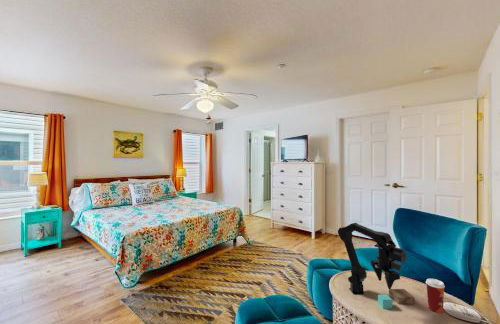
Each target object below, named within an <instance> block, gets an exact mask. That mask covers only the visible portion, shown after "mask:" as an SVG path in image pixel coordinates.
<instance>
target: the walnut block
mask: <svg viewBox="0 0 500 324" xmlns="http://www.w3.org/2000/svg"><path fill="white" fill-rule="evenodd" d="M388 296H389V297H390V298H391V299H392V300H394V301H395V303H396V304H398V305H411V304H412V305H415V296H414V295H412V294H411V293H409V291H407V289H405V288H391V289H388Z"/></svg>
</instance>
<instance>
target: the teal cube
mask: <svg viewBox="0 0 500 324" xmlns="http://www.w3.org/2000/svg"><path fill="white" fill-rule="evenodd" d="M377 304H378V305H379V306H380V307H381V308H382V310H387V309H393V298H391V297H390V296H389V294H377Z"/></svg>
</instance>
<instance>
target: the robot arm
mask: <svg viewBox="0 0 500 324" xmlns="http://www.w3.org/2000/svg"><path fill="white" fill-rule="evenodd" d="M353 232H356V233H359V234H361V235H364V236H366V237H368V238H371V239H372V240H373V242H375V244H374V245H373V246H374V247H375V248H377V249H378V250H377V256H376V259H372V260H370V265H371V267H372V269H373V271H374V273H375V274H376V277H377V279H378V281H382V276H383V271H384V279H385V280H384V281H385V283H386V286H387V289H388V290H389V289H392V287H393V285H394V282H395V281H398V280H401V275H400V273H398V272H397V271H401V269H402V263H403V264H404V263H405V262H406V260H407V253H406V252H405V249H404V248H400V247H397V245H396V244H395V242H394V241H393V239H392V236H391V234H389V233H387V232H384V231H376V230H373V229H371V228H369V227H366V226H363V225H361V224H359V223H357V222H353V223H352V222H351V223H350V224H348V225H346V226H343V227H339V228H338V230H337V234H338V236H339V239H340V240H341V241H342V242H343V243H344V246H345V250H346V252H347V253H346V254H347V257H348V259H349V263H350V265H351V267H350V268H351V269H350V273H351V275H350V276H349V277H348V278H347V279H348V283H349V284H350V285H349V286H350V287H349V288H348V289H349V291H350V292H351V293H352V294H353V295H364V294H365V292H364V283H363V282H365V279H367V274H368V273H367V271H366V267H365V266H362V265H361V263H360V261H359V257H358V254H357V252H356V249H355V246H354V243H353ZM398 262H399V263H398ZM400 263H401V264H400ZM396 270H397V271H396Z"/></svg>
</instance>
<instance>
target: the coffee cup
mask: <svg viewBox="0 0 500 324" xmlns="http://www.w3.org/2000/svg"><path fill="white" fill-rule="evenodd" d="M425 284H426V292H427V293H426V294H427V302H428V304H427V305H428V309H429V311H431V312H434V313H436V314H443V312H444V302H445V301H444V297H445V296H444V295H445V288H446V286H445V284H444V282H443V281H441V280H438V279H435V278H427V279H426V281H425Z"/></svg>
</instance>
